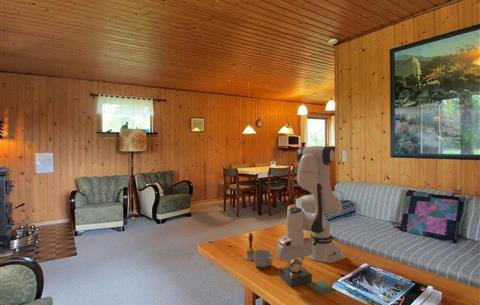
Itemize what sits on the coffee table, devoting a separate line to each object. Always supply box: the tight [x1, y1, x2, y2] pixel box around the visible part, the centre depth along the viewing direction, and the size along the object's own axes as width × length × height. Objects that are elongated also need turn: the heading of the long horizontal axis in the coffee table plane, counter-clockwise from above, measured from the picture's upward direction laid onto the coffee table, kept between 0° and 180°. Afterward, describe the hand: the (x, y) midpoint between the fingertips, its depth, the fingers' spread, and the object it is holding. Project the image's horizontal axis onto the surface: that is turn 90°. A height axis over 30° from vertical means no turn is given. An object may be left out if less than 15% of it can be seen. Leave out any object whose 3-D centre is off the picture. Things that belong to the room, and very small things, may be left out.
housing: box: [279, 265, 313, 289], centre depth 143 cm, size 12×12×6 cm
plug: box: [290, 258, 300, 274], centre depth 143 cm, size 5×5×10 cm
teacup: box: [253, 249, 273, 269], centre depth 159 cm, size 14×11×8 cm
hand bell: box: [243, 232, 255, 262], centre depth 171 cm, size 8×8×16 cm
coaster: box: [306, 279, 337, 295], centre depth 135 cm, size 10×10×1 cm
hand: (295, 265), depth 143 cm, fingers closed on plug, 5 cm apart
